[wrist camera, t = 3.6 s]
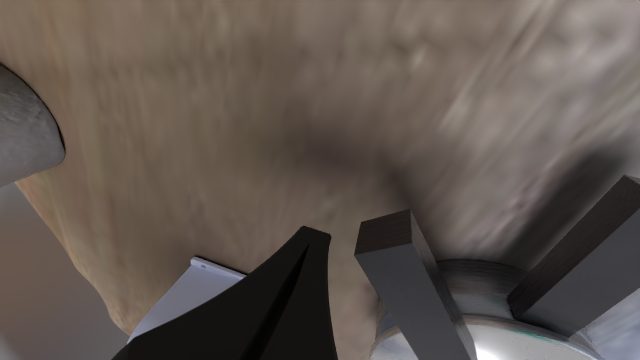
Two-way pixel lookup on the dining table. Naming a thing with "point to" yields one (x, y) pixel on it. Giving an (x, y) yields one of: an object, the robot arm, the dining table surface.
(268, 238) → the dining table surface
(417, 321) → the lid
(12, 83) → the pillar candle
